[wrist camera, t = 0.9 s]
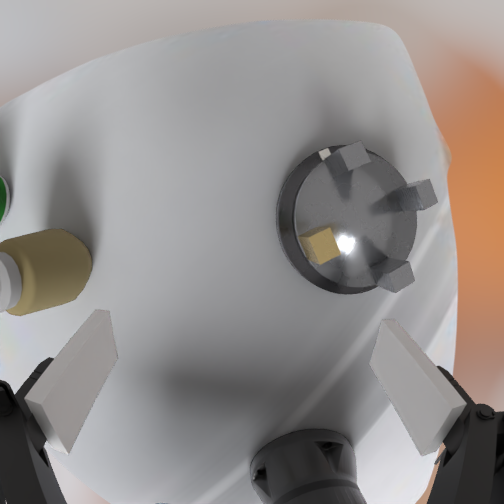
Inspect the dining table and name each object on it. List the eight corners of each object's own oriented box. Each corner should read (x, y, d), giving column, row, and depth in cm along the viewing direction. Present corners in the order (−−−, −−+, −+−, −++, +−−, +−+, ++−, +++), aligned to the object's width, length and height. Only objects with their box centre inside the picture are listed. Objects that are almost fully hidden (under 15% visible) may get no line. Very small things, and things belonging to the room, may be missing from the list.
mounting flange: (420, 253, 33) (430, 255, 31) (311, 314, 33) (316, 320, 31) (372, 132, 32) (380, 127, 29) (251, 181, 31) (252, 177, 29)
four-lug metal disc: (421, 250, 31) (453, 255, 25) (323, 305, 30) (343, 323, 24) (378, 139, 29) (405, 124, 24) (269, 183, 29) (279, 173, 23)
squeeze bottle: (80, 214, 30) (-33, 207, 12) (113, 275, 31) (13, 320, 13) (37, 251, 30) (-72, 270, 12) (67, 308, 31) (-32, 364, 13)
